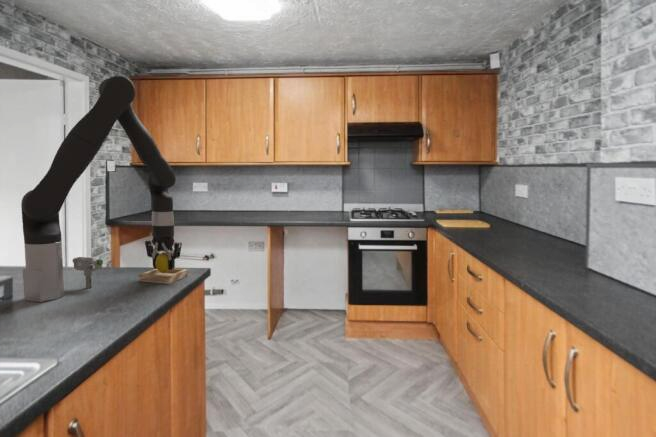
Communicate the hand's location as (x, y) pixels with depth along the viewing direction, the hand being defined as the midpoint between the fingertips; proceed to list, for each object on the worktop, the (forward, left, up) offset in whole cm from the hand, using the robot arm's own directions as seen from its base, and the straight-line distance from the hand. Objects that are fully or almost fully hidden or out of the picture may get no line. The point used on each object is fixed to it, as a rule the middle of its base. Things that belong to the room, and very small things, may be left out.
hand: (163, 268), depth 147 cm
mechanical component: (-18, +16, -4) cm, 24 cm away
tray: (0, 0, -4) cm, 4 cm away
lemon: (0, 0, -2) cm, 2 cm away
